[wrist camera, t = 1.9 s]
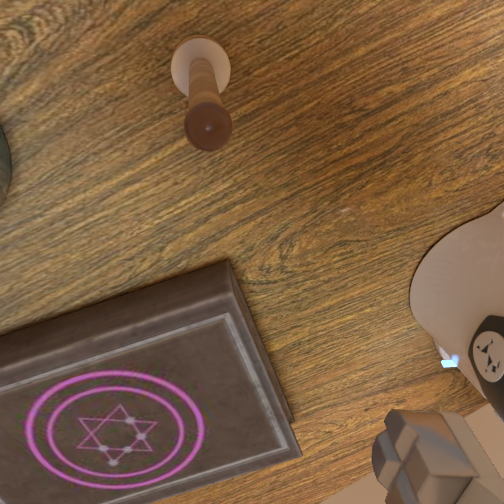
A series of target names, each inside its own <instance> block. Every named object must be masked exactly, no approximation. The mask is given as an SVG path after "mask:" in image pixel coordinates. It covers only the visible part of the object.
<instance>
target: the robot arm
mask: <svg viewBox="0 0 504 504" xmlns="http://www.w3.org/2000/svg"><path fill="white" fill-rule="evenodd" d="M410 307H411V311H412V313H413V316H414V318H415V319H416V321H417V322H418V324H419V325H420V326H421V327H422V328H423V329H424V330H426V331H427V332H428V333H429V334H430V335H431V336H432V337H433V339H434V343H435V346H436V349H437V351H438V353H439V354H440V355H441V356H442V357H443V359H444V360H443V361H442V362H441V363H442V365H443V366H444V367H456V366H457V367H458V368H459V369H460V370H461V371H462V373H463V374H464V375H465V376H466V377H467V378H468V379H469V381H470V382H471V383H472V384H473V385H474V386H475V387H476V388H477V390H478V391H479V392H480V393H481V394H482V395H483V396H484V397H485V398H486V399H487V400H488V401H489V403H490V404H491V405H492V407H493V408H494V410H495V413H496V414H497V416H498V417H499V418H500V419H501V421H502V422H503V423H504V201H503V202H502V203H501V204H500V205H499V206H497V207H496V208H495V209H494V210H493V211H492V212H490V213H488V214H486V215H484V216H482V217H480V218H477V219H475V220H473V221H470V222H468V223H466V224H464V225H462V226H460V227H458V228H457V229H455V230H454V231H452V232H451V233H449V234H448V235H446V236H445V237H444V238H443V239H441V240H440V241H439V242H438V243H437V244H436V245H435V246H434V247H433V248H432V249H431V250H430V251H429V252H428V254H427V255H426V256H425V257H424V259H423V260H422V262H421V263H420V265H419V267H418V269H417V271H416V273H415V275H414V278H413V280H412V284H411V289H410ZM384 423H385V425H386V427H387V429H386V430H384V431H383V432H381V433H380V434H379V435H377V437H376V439H375V442H374V444H373V446H372V464H373V470H374V472H375V475H376V478H377V481H378V482H379V483H380V484H381V485H382V486H383V487H384V488H385V489H386V490H387V491H388V493H387V496H386V500H385V502H386V504H504V479H503V478H502V477H501V476H500V474H499V472H498V471H497V469H496V468H495V466H494V464H493V463H492V461H491V460H490V458H489V457H488V455H487V454H486V452H485V450H484V449H483V447H482V446H481V444H480V442H479V441H478V439H477V438H476V436H475V435H474V434H473V431H472V430H471V429H470V427H469V425H468V424H467V422H466V420H465V419H464V418H463V416H461V415H460V414H459V413H457V412H440V411H435V412H434V411H422V410H401V409H393V410H391V411H390V412H389V413H388V414H387V416H386V418H385V420H384Z"/></svg>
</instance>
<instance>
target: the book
mask: <svg viewBox="0 0 504 504" xmlns="http://www.w3.org/2000/svg"><path fill="white" fill-rule="evenodd" d="M294 422H295V421H294V417H293V415H292V412H291V410H290V408H289V405H288V403H287V400H286V398H285V395H284V393H283V391H282V388H281V386H280V383H279V381H278V378H277V376H276V373H275V371H274V369H273V366H272V364H271V361H270V359H269V356H268V354H267V351H266V349H265V347H264V344H263V342H262V339H261V337H260V334H259V332H258V330H257V327H256V325H255V322H254V320H253V317H252V315H251V312H250V310H249V308H248V305H247V303H246V300H245V298H244V295H243V293H242V290H241V288H240V286H239V283H238V281H237V278H236V276H235V273H234V271H233V269H232V266H231V264H230V261H225V262H222V263H219V264H216V265H213V266H210V267H207V268H204V269H201V270H198V271H195V272H192V273H189V274H186V275H183V276H180V277H177V278H174V279H171V280H168V281H165V282H162V283H159V284H156V285H153V286H150V287H147V288H144V289H141V290H139V291H136V292H133V293H130V294H127V295H124V296H121V297H118V298H115V299H112V300H109V301H106V302H103V303H100V304H97V305H94V306H91V307H88V308H85V309H82V310H79V311H76V312H73V313H70V314H67V315H64V316H61V317H58V318H55V319H52V320H49V321H46V322H43V323H40V324H38V325H35V326H32V327H29V328H26V329H23V330H20V331H17V332H14V333H11V334H8V335H5V336H2V337H0V504H150V503H153V502H156V501H159V500H163V499H166V498H169V497H172V496H176V495H179V494H182V493H185V492H189V491H192V490H195V489H198V488H202V487H205V486H208V485H211V484H215V483H218V482H221V481H224V480H228V479H231V478H234V477H237V476H241V475H244V474H247V473H250V472H254V471H257V470H260V469H263V468H266V467H270V466H273V465H276V464H279V463H283V462H286V461H289V460H292V459H296V458H299V457H302V456H303V454H302V451H301V449H300V446H299V444H298V441H297V439H296V437H295V434H294V432H293V429H292V427H291V425H290V424H291V423H294Z"/></svg>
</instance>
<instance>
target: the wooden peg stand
mask: <svg viewBox="0 0 504 504" xmlns="http://www.w3.org/2000/svg"><path fill="white" fill-rule="evenodd" d="M171 75H172V79H173V82H174V84H175V86H176V87H177V89H178V90H179V91H180V92H181V93H182V94H183V95H185V96H186V97H188V98H189V111H188V112H187V114H186V116H185V119H184V132H185V136H186V138H187V140H188V141H189V142H190V143H191V145H193V146H194V147H195V148H197V149H199V150H201V151H207V152H211V151H216V150H218V149H220V148H222V147H223V146H224V145H225V144H226V143H227V142H228V141H229V139H230V137H231V134H232V120H231V117H230V115H229V113H228V112H227V111H226V109H225V108H224V107H223V105H222V101H221V97H220V94H221V93H222V92H223V91H224V90H225V88H226V87H227V85H228V83H229V80H230V76H231V65H230V61H229V58H228V56H227V54H226V52H225V50H224V48H223V47H222V45H221V44H220V43H219V42H218V41H216V40H215V39H213V38H211V37H209V36H206V35H192V36H189V37H187V38H185V39H184V40H182V41H181V42H180V43H179V44H178V46H177V47H176V49H175V51H174V53H173V56H172V60H171Z"/></svg>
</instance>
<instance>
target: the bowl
mask: <svg viewBox="0 0 504 504" xmlns="http://www.w3.org/2000/svg"><path fill="white" fill-rule="evenodd" d="M10 178H11V159H10V152H9V148H8V144H7V141H6V138H5V135H4V133H3V131H2V128H1V126H0V207H1V205H2V203H3V201H4V199H5V197H6V194H7V191H8V188H9V185H10Z"/></svg>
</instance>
